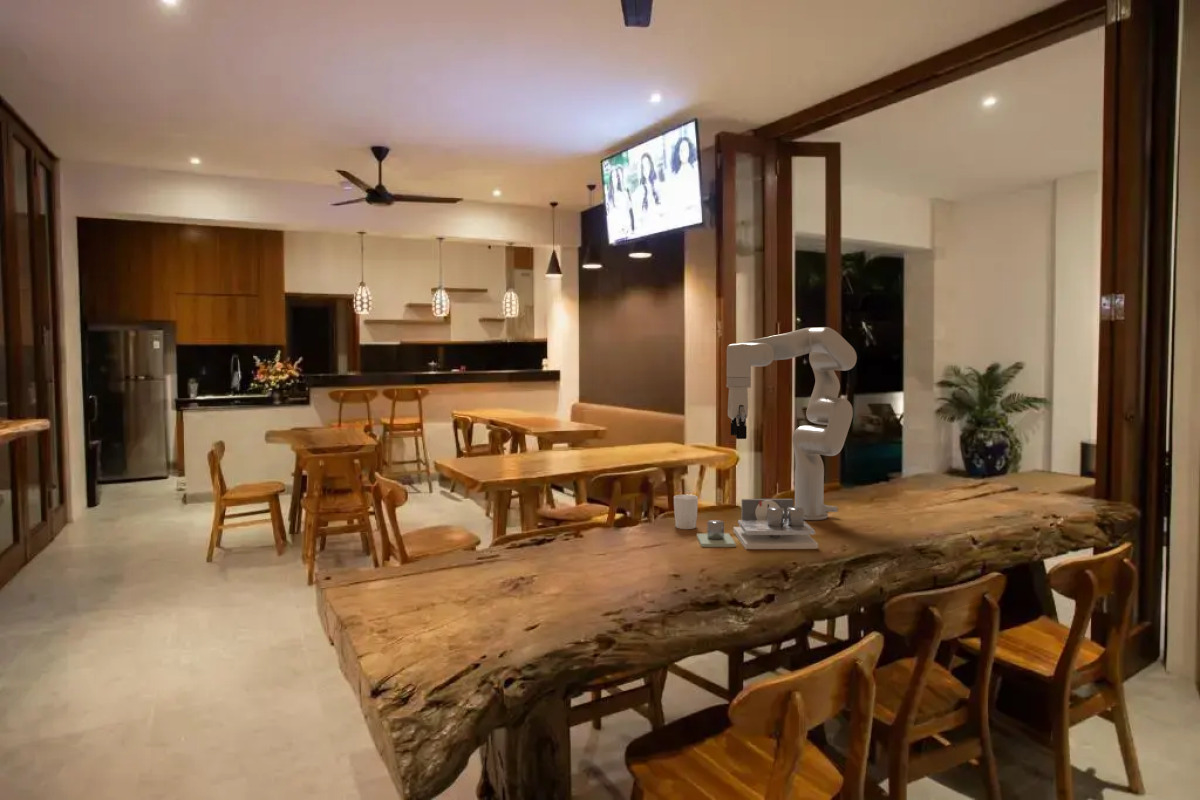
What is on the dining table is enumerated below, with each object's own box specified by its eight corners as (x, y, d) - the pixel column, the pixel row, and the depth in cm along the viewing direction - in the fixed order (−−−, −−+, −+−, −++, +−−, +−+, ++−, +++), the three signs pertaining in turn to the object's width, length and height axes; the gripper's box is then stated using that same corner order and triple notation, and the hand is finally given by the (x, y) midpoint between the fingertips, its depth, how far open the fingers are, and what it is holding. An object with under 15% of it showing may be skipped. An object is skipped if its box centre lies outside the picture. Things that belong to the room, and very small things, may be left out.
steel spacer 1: (782, 523, 229) (782, 507, 229) (785, 527, 224) (785, 510, 224) (765, 523, 229) (765, 506, 229) (768, 527, 224) (768, 510, 224)
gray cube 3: (722, 536, 230) (722, 520, 229) (725, 540, 225) (725, 523, 224) (706, 536, 230) (706, 520, 229) (708, 540, 225) (708, 524, 224)
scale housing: (799, 531, 239) (799, 498, 239) (817, 548, 218) (818, 513, 218) (733, 531, 240) (733, 498, 239) (745, 549, 219) (745, 513, 218)
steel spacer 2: (801, 523, 229) (801, 506, 229) (805, 527, 224) (806, 510, 224) (785, 523, 229) (785, 507, 229) (789, 527, 224) (789, 510, 224)
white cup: (669, 525, 248) (669, 495, 248) (690, 523, 251) (690, 493, 251) (680, 530, 241) (680, 500, 240) (702, 528, 244) (702, 498, 243)
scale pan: (802, 523, 234) (802, 519, 234) (815, 534, 220) (815, 530, 220) (738, 523, 234) (738, 520, 234) (746, 535, 220) (746, 530, 220)
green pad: (728, 536, 233) (728, 533, 233) (735, 546, 221) (735, 543, 221) (696, 536, 233) (696, 533, 233) (701, 547, 221) (701, 543, 221)
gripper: (722, 381, 245) (722, 433, 247) (731, 384, 228) (731, 440, 229) (745, 381, 245) (745, 433, 247) (756, 384, 228) (755, 440, 229)
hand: (738, 436), depth 238 cm, fingers open, 9 cm apart
